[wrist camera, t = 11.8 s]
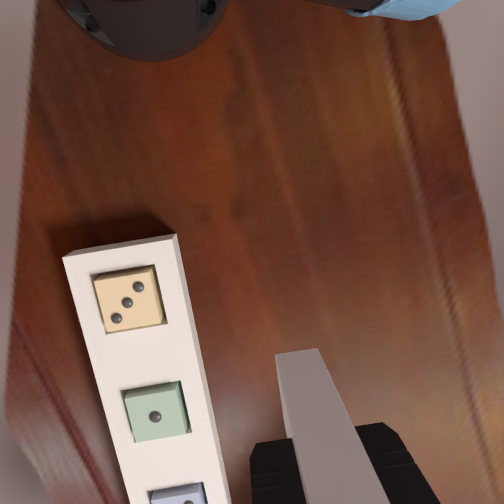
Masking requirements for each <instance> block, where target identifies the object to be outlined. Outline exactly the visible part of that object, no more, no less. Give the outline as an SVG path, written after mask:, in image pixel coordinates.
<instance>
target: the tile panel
mask: <svg viewBox="0 0 504 504" xmlns="http://www.w3.org/2000/svg"><path fill="white" fill-rule="evenodd" d="M62 259H63V263H64V266H65V270H66V273H67V277H68V281H69V284H70V288H71V291H72V295H73V299H74V302H75V306H76V309H77V313H78V317H79V320H80V324H81V327H82V331H83V335H84V338H85V342H86V345H87V349H88V353H89V356H90V360H91V364H92V367H93V371H94V374H95V378H96V382H97V385H98V389H99V392H100V396H101V400H102V403H103V407H104V410H105V414H106V418H107V421H108V425H109V428H110V432H111V436H112V439H113V443H114V446H115V450H116V454H117V457H118V461H119V464H120V468H121V472H122V475H123V479H124V483H125V486H126V490H127V493H128V497H129V501H130V504H152V502H151V499H152V495H153V490H158V489H164V488H169V487H175V486H181V485H186V484H192V483H198V482H203V483H204V487H205V492H206V496H207V500H208V504H232V501H231V496H230V491H229V486H228V482H227V477H226V472H225V467H224V462H223V457H222V452H221V448H220V443H219V438H218V433H217V428H216V423H215V419H214V414H213V409H212V404H211V399H210V394H209V390H208V385H207V380H206V375H205V370H204V365H203V360H202V356H201V351H200V346H199V341H198V336H197V331H196V327H195V322H194V317H193V312H192V307H191V302H190V297H189V293H188V288H187V283H186V278H185V273H184V268H183V264H182V259H181V254H180V249H179V244H178V239H177V235H176V233H175V234H169V235H163V236H157V237H151V238H145V239H139V240H133V241H127V242H121V243H115V244H109V245H103V246H97V247H91V248H85V249H79V250H74V251H73V252H71V253H69V254H67V255H66V256H64V257H62ZM151 264H155V267H156V272H157V276H158V281H159V285H160V290H161V294H162V299H163V303H164V308H165V312H166V314H164V316H163V319H162V321H161V323H159V324H153V325H147V326H142V327H136V328H130V329H124V330H118V331H112V332H107V330H106V326H105V322H104V318H103V315H102V311H101V307H100V303H99V299H98V296H97V292H96V288H95V284H94V281H95V280H96V279H97V278H98V277H99V276H101V275H102V273H103V272H109V271H115V270H121V269H127V268H133V267H139V266H145V265H151ZM179 380H181V384H182V388H183V393H184V397H185V402H186V406H187V411H188V415H189V417H188V423H187V429H186V434H184V435H178V436H173V437H167V438H161V439H155V440H150V441H144V442H138V443H136V441H135V437H134V433H133V429H132V426H131V422H130V418H129V414H128V410H127V407H126V403H125V396H126V394H127V392H128V390H129V389H133V388H139V387H145V386H150V385H156V384H162V383H168V382H174V381H179Z"/></svg>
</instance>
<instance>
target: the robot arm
mask: <svg viewBox="0 0 504 504" xmlns="http://www.w3.org/2000/svg"><path fill="white" fill-rule="evenodd" d="M304 1H308V2H313V3H317V4H322V5H327V6H331V7H336V8H340V9H344V11H345V12H346V13H347V14H349V15H353V16H358V17H364V16H371V15H377V16H383V17H389V18H395V19H401V20H420V19H423V18H425V17H427V16H432V15H435V14H437V13H441V12H443V11H445V10H447V9H448V8H450V7H451V6H453V5H455V4H456V3H457V2H459V1H460V0H304ZM59 2H60V3H61V5H62V7H63V8H64V10H65V11H66V12H67V14H68V15H69V16H70V18H71V19H72V20H73V21H74V22H75V23H76V24H77V25H78V26H79V27H80V28H81V29H82V30H83V31H84V32H85V33H86V34H87V35H88V36H89V37H91V38H92V39H93V40H94V41H95V42H97V43H98V44H99V45H101V46H102V47H104V48H105V49H107V50H109V51H111V52H113V53H115V54H117V55H119V56H122V57H125V58H128V59H132V60H137V61H147V62H154V61H164V60H169V59H173V58H176V57H179V56H181V55H184V54H186V53H188V52H189V51H191V50H193V49H194V48H196V47H197V46H199V45H200V44H201V43H202V42H203V41H204V40H206V39H207V38H208V37H209V35H210V34H211V33H212V32H213V31H214V29H215V28H216V27H217V25H218V24H219V22H220V21H221V19H222V17H223V15H224V13H225V11H226V9H227V6H228V3H229V0H59ZM275 360H276V367H277V374H278V381H279V389H280V396H281V403H282V410H283V418H284V424H285V429H286V434H287V439H281V440H275V441H268V442H262V443H256V445H255V447H254V449H253V452H252V454H251V456H250V473H251V488H252V504H441V503H440V502H439V500H438V499H437V497H436V495H435V494H434V492H433V490H432V489H431V487H430V486H429V484H428V482H427V481H426V479H425V477H424V476H423V474H422V473H421V471H420V469H419V468H418V466H417V464H415V462H414V460H413V458H412V456H411V455H410V453H409V451H407V448H406V447H405V445H404V443H403V442H402V440H401V438H400V437H399V435H398V434H397V433H396V432H395V431H394V430H392V429H391V428H390V427H388V426H387V425H386V424H384V423H383V422H380V423H374V424H368V425H361V426H355V427H354V425H353V423H352V421H351V419H350V417H349V415H348V412H347V410H346V408H345V406H344V404H343V402H342V400H341V397H340V395H339V393H338V391H337V389H336V387H335V385H334V382H333V380H332V378H331V376H330V374H329V372H328V370H327V368H326V365H325V363H324V361H323V359H322V357H321V355H320V353H319V350H318V348H315V349H308V350H302V351H295V352H289V353H282V354H275Z"/></svg>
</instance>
